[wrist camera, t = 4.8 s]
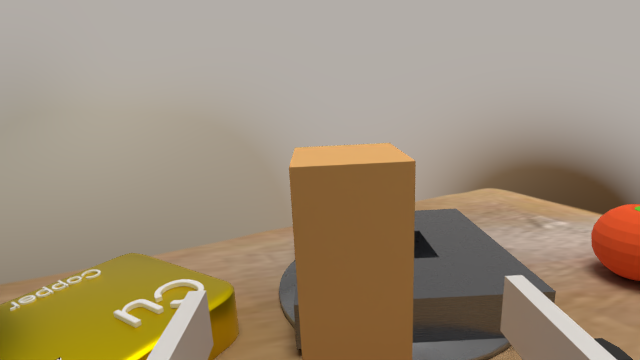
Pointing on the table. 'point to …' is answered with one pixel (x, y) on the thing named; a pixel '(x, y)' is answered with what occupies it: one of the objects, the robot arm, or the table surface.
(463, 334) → the block with square hole
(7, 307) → the element tile
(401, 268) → the orange square prism
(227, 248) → the table surface
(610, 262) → the clementine
